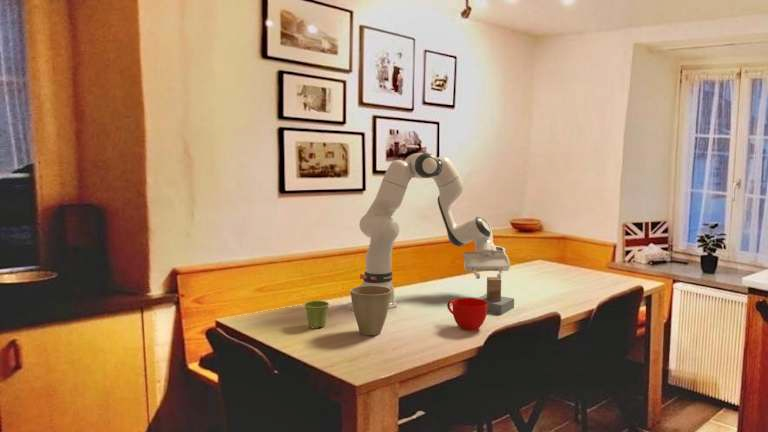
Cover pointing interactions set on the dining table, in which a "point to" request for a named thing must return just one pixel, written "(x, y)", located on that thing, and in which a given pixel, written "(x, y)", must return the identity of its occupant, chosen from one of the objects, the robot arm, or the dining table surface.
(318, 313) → the plant pot
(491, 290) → the walnut post
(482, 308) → the ceramic cup
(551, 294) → the dining table surface
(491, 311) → the charcoal plinth
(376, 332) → the plant pot
